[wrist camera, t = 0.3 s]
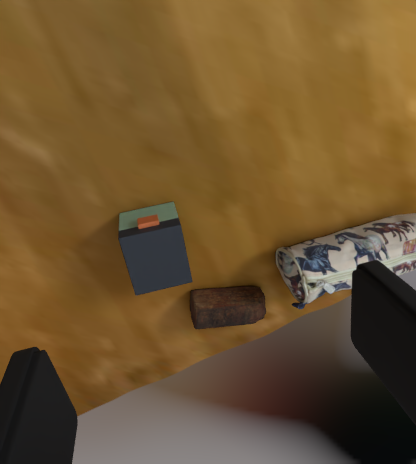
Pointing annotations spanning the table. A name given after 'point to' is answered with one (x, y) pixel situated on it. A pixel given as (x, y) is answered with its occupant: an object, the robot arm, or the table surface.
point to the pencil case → (347, 256)
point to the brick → (226, 306)
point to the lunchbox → (154, 248)
